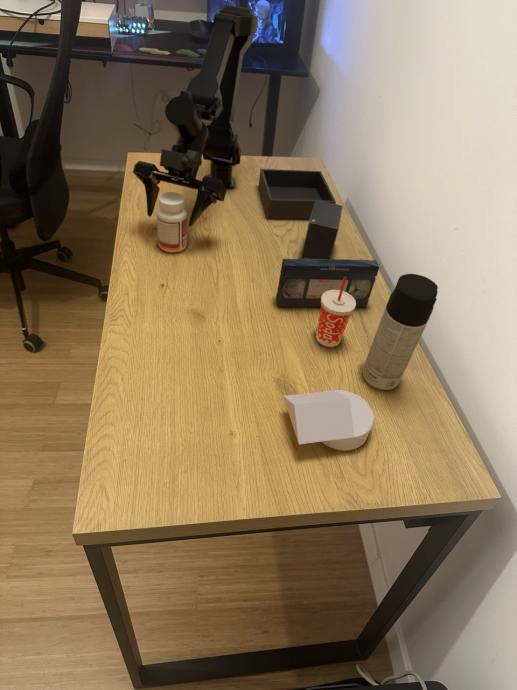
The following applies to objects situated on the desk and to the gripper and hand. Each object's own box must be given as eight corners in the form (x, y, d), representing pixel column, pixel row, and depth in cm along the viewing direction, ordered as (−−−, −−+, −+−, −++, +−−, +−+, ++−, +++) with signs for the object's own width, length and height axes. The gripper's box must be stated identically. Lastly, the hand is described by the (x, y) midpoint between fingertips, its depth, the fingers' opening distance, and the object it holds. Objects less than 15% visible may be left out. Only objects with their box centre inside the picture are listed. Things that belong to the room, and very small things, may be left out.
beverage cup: (305, 339, 92) (320, 277, 82) (321, 322, 96) (337, 262, 86) (335, 354, 90) (353, 293, 80) (350, 336, 94) (369, 276, 84)
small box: (328, 271, 108) (339, 228, 101) (299, 264, 109) (307, 221, 102) (334, 245, 116) (344, 204, 109) (306, 239, 116) (314, 198, 109)
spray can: (401, 370, 89) (442, 279, 75) (396, 397, 84) (439, 305, 70) (365, 358, 90) (398, 267, 76) (358, 384, 85) (392, 292, 71)
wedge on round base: (295, 457, 73) (376, 446, 76) (302, 430, 69) (389, 419, 72) (280, 409, 80) (356, 400, 82) (286, 381, 75) (366, 373, 78)
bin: (258, 187, 133) (260, 168, 129) (317, 189, 135) (320, 171, 132) (267, 219, 121) (270, 199, 118) (331, 220, 124) (336, 201, 120)
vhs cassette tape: (276, 307, 98) (284, 265, 91) (275, 297, 100) (282, 255, 93) (367, 309, 100) (380, 268, 93) (363, 299, 102) (376, 259, 95)
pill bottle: (176, 235, 112) (176, 187, 104) (192, 248, 109) (192, 200, 101) (152, 242, 109) (150, 194, 101) (167, 256, 106) (166, 208, 98)
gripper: (133, 120, 97) (111, 197, 96) (225, 140, 94) (203, 219, 94) (152, 145, 108) (132, 215, 108) (234, 164, 106) (215, 235, 105)
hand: (169, 220), depth 103 cm, fingers open, 9 cm apart
